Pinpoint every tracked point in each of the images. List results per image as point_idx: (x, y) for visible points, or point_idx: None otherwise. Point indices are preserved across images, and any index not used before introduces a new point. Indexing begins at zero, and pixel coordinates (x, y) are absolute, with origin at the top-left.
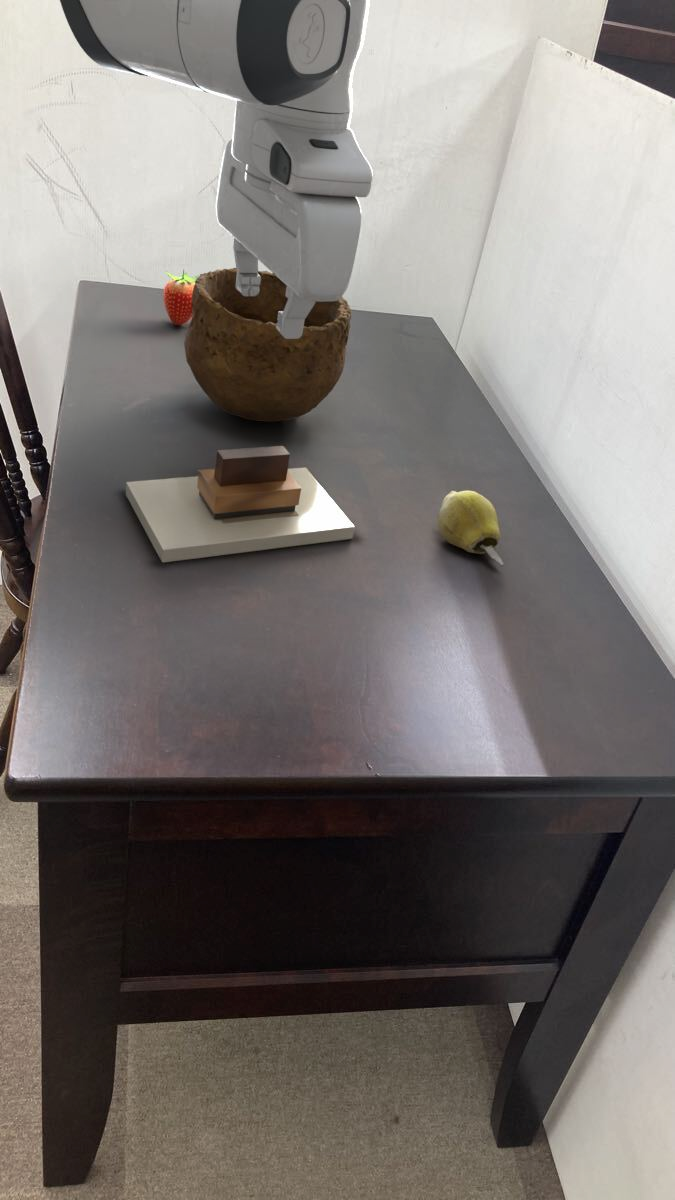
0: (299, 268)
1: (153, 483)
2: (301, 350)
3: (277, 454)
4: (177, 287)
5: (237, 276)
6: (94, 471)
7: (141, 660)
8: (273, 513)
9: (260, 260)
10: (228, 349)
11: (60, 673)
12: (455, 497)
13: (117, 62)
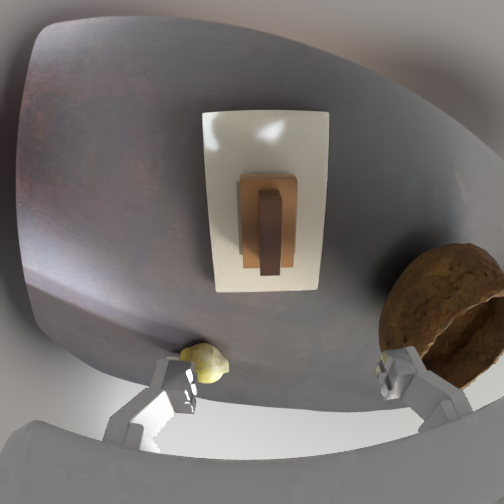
0: (25, 468)
1: (321, 137)
2: None
3: (262, 263)
4: None
5: (418, 364)
6: (370, 100)
7: (94, 82)
8: None
9: (273, 463)
10: (444, 284)
11: (95, 33)
12: (207, 369)
13: None
